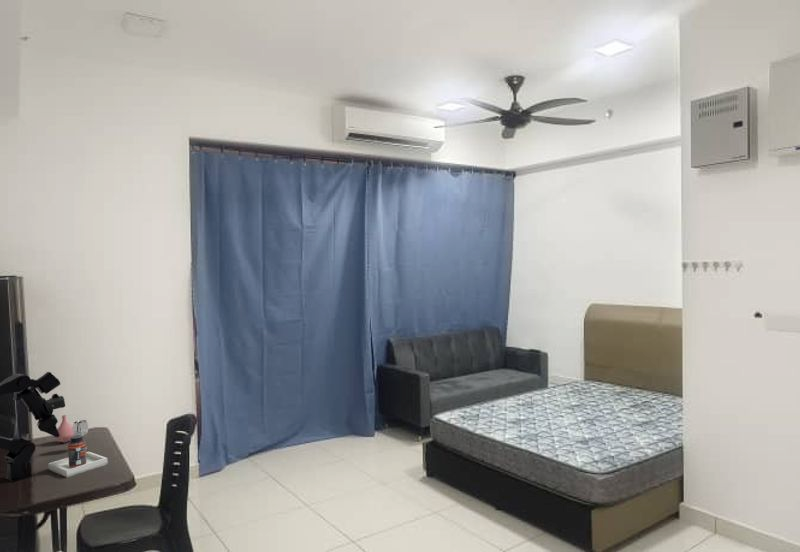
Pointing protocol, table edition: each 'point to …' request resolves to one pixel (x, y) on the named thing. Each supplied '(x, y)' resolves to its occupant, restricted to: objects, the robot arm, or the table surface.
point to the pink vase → (64, 431)
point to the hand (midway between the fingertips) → (56, 432)
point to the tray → (67, 471)
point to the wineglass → (80, 428)
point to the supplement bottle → (77, 451)
